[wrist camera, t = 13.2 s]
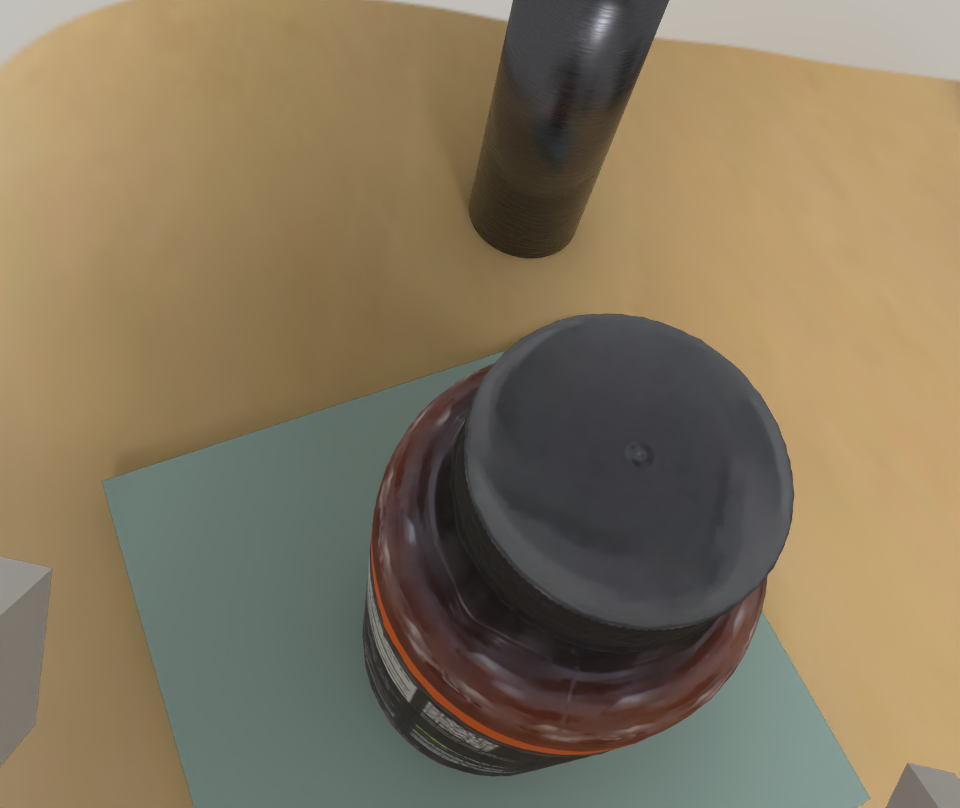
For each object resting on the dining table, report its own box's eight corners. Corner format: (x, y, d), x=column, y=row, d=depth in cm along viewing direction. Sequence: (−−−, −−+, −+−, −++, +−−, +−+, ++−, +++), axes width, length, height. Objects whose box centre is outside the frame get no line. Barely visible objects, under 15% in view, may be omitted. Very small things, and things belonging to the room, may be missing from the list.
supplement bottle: (597, 526, 21) (831, 264, 11) (617, 777, 18) (953, 733, 8) (365, 516, 20) (393, 224, 10) (351, 780, 17) (369, 733, 7)
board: (586, 335, 25) (594, 321, 24) (851, 799, 20) (870, 798, 19) (109, 493, 20) (101, 481, 20) (294, 1142, 15) (292, 1159, 15)
